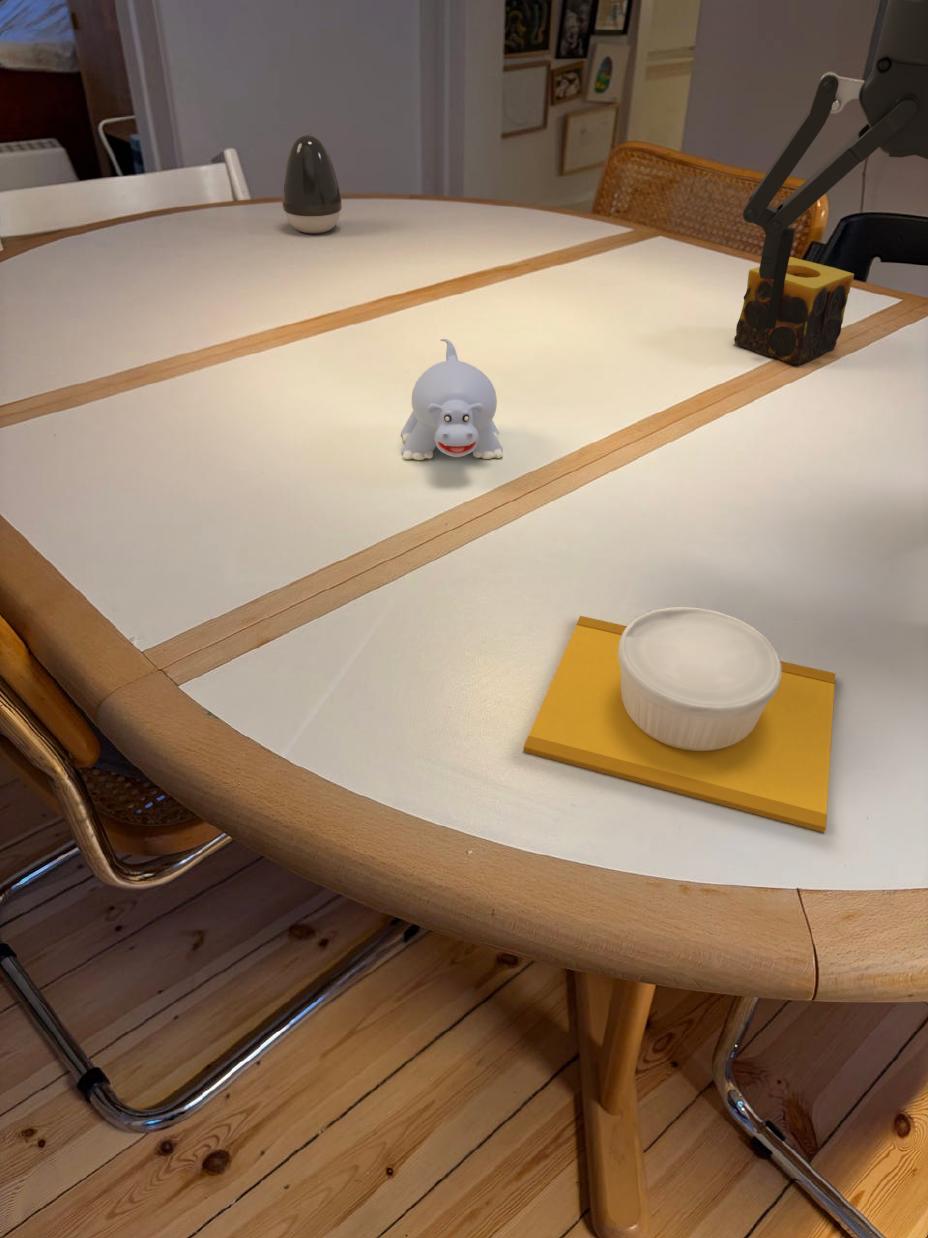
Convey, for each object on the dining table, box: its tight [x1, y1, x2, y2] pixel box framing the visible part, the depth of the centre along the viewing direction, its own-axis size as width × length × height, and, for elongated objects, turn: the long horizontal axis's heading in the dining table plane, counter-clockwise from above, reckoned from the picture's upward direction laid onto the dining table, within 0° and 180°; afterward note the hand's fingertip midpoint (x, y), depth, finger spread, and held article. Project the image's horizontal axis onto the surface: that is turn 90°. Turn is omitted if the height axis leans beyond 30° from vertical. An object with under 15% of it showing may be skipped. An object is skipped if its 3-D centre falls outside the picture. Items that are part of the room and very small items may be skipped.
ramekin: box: [618, 606, 782, 751], centre depth 66 cm, size 11×11×5 cm
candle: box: [733, 256, 855, 366], centre depth 122 cm, size 10×10×10 cm
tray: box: [522, 615, 837, 833], centre depth 68 cm, size 20×16×1 cm
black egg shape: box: [282, 133, 343, 235], centre depth 161 cm, size 10×10×15 cm
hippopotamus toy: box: [400, 338, 504, 461], centre depth 97 cm, size 11×15×10 cm
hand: (865, 333), depth 69 cm, fingers open, 13 cm apart
